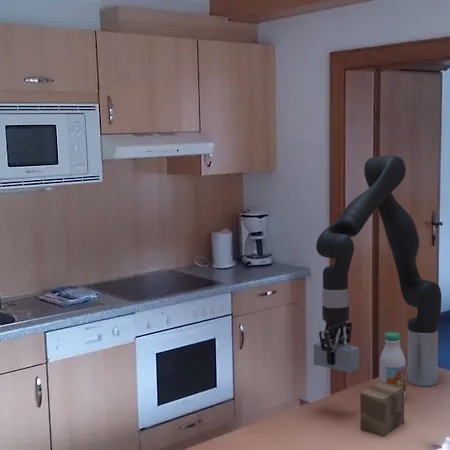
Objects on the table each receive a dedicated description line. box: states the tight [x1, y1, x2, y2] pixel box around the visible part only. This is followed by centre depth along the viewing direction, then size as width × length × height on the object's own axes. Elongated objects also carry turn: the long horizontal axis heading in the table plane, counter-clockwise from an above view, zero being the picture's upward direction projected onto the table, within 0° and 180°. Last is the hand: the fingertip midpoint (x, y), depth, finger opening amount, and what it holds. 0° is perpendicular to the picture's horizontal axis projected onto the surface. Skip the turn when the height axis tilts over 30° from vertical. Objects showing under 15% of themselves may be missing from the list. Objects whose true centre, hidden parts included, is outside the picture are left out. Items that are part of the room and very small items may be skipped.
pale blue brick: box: [313, 341, 360, 373], centre depth 194 cm, size 5×12×6 cm, turn 49°
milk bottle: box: [379, 331, 407, 401], centre depth 205 cm, size 8×8×20 cm
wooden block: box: [359, 381, 405, 437], centre depth 186 cm, size 11×7×10 cm, turn 138°
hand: (336, 361), depth 194 cm, fingers closed on pale blue brick, 5 cm apart
